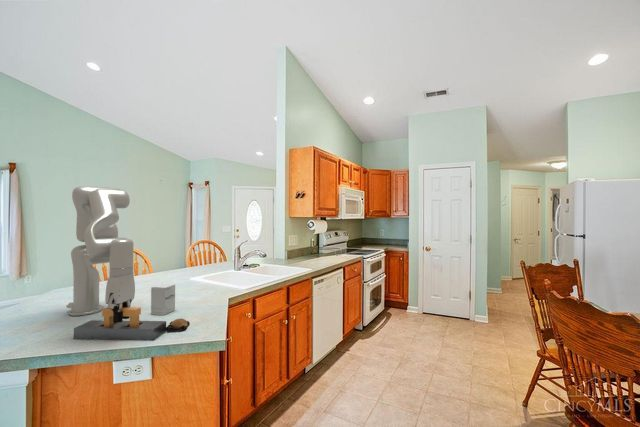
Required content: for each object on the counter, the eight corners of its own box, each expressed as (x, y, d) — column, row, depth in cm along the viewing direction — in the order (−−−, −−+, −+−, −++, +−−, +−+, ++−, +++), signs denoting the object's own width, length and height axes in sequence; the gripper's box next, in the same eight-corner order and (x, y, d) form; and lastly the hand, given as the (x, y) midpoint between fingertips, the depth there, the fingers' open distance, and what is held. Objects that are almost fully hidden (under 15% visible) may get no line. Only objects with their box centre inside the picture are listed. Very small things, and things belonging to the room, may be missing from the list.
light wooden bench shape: (101, 330, 108) (102, 309, 108) (107, 328, 111) (107, 307, 111) (135, 331, 108) (135, 309, 108) (140, 328, 110) (140, 307, 110)
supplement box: (164, 315, 131) (164, 287, 131) (150, 314, 132) (150, 286, 132) (175, 310, 138) (175, 284, 138) (162, 309, 140) (162, 283, 140)
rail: (73, 339, 106) (73, 328, 106) (91, 330, 114) (91, 320, 114) (153, 340, 105) (153, 329, 105) (166, 331, 113) (166, 321, 113)
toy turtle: (169, 325, 121) (168, 316, 121) (190, 323, 123) (190, 314, 123) (163, 335, 110) (163, 325, 111) (187, 332, 113) (187, 323, 113)
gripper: (126, 267, 118) (126, 313, 117) (94, 276, 101) (94, 328, 101) (144, 268, 117) (144, 313, 117) (115, 276, 101) (115, 328, 101)
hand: (121, 319), depth 109 cm, fingers closed on light wooden bench shape, 2 cm apart
